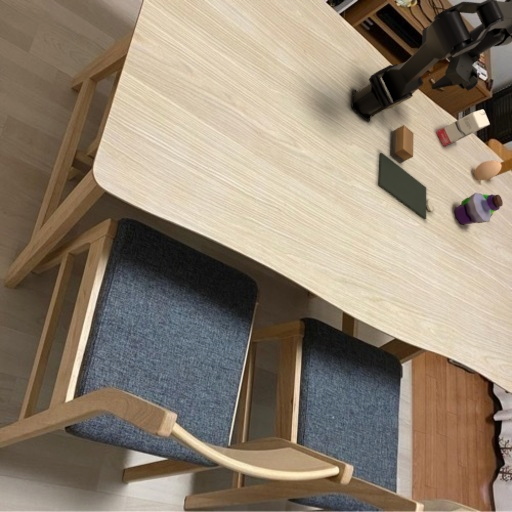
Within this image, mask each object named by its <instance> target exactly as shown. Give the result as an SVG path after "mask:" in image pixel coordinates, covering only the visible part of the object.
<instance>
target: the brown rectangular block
mask: <svg viewBox="0 0 512 512" xmlns="http://www.w3.org/2000/svg"><path fill="white" fill-rule="evenodd" d="M390 133H391V134H390V156H391V157H392V158H393V159H394V160H395V161H397V163H399V164H402V163H404V162H406V161H409V160H410V159H412V158H414V135H415V134H414V132H413V131H412V130H411V129H410V128H408V127H407V126H406V125H404V124H403V125H401V126H399V127H398V128H396V129H394V130H392V131H391V132H390Z"/></svg>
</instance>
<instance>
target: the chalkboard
mask: <svg viewBox="0 0 512 512" xmlns="http://www.w3.org/2000/svg"><path fill="white" fill-rule="evenodd" d="M377 182H378V183H377V186H378V187H380V188H381V189H383V190H384V191H385V192H386V193H388V194H389V195H391V196H392V197H393V198H395V199H396V200H397V201H398V202H400V203H401V204H403V205H404V206H405V207H407V208H408V209H409V210H411V211H412V212H414V213H415V214H416V215H418V216H419V217H420V218H421V219H423V220H426V219H427V205H426V201H427V187H426V186H425V185H424V184H422V182H420V181H419V180H418V179H416V178H415V177H414V176H412V174H409V172H407V171H406V170H405V169H403V168H402V167H400V166H399V164H397V163H396V162H395V161H393V160H392V159H391V158H389V157H388V156H387V155H385V154H384V153H383V152H380V153H379V163H378V180H377Z"/></svg>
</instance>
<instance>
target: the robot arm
mask: <svg viewBox="0 0 512 512" xmlns="http://www.w3.org/2000/svg"><path fill="white" fill-rule="evenodd" d="M461 13H462V14H473V15H475V14H476V16H477V17H478V19H479V21H480V24H479V25H478V26H476V27H474V28H473V29H471V30H469V29H468V27H467V24H466V22H465V20H464V19H463V16H462V15H461ZM421 37H422V38H421V41H422V42H421V44H420V47H419V48H418V49H417V50H416V51H415V52H414V53H413V54H412V55H411V56H410V57H409V58H408V59H407V60H406V61H404V62H402V63H400V64H398V63H396V64H389V65H388V66H386V67H384V68H381V69H380V70H378V71H376V72H374V73H373V74H371V76H370V77H368V81H369V83H368V84H367V85H365V86H363V88H361V89H360V90H357V89H353V90H352V95H351V96H352V97H351V110H352V111H354V112H355V113H356V114H358V115H359V116H360V117H361V118H362V119H364V120H365V121H366V122H367V123H370V122H371V118H372V117H373V118H374V116H376V115H378V114H379V113H381V112H382V111H387V110H390V109H393V108H395V107H397V106H399V105H400V104H402V103H404V102H406V101H408V100H410V99H411V98H412V97H413V96H414V95H413V94H414V93H415V92H416V91H418V89H420V88H421V87H423V84H424V80H423V79H422V76H423V75H425V73H427V72H428V71H429V70H430V69H431V68H432V67H433V66H434V65H435V64H437V63H438V62H439V61H444V60H446V61H447V62H448V65H447V67H446V69H445V73H444V75H443V76H442V77H440V78H439V79H438V80H436V81H435V82H434V83H433V84H432V85H431V90H438V89H442V88H448V87H458V88H460V89H461V90H464V89H465V90H466V91H468V92H469V91H471V90H473V89H475V88H476V87H477V85H478V83H479V79H480V75H479V74H478V69H477V68H476V67H475V66H474V64H475V63H477V62H478V61H479V60H480V59H481V54H483V53H485V52H486V51H489V50H490V49H492V48H493V47H494V48H495V47H501V46H507V45H510V44H511V43H512V0H504V1H500V0H484V1H482V2H474V1H473V2H472V1H461V2H459V3H456V4H455V5H453V6H451V7H449V8H446V9H444V10H442V11H440V12H439V13H437V14H436V15H435V16H434V17H433V21H431V22H430V24H429V25H428V26H425V28H423V29H422V35H421Z"/></svg>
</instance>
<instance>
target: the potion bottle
mask: <svg viewBox="0 0 512 512" xmlns="http://www.w3.org/2000/svg"><path fill="white" fill-rule="evenodd" d="M483 195H484V194H482V193H478V192H474V193H473V194H472V195H470V196H468V197H466V198H464V199H462V201H461V203H460V204H459V205H458V206H455V207H454V209H453V214H454V217H455V220H456V222H458V224H459V225H461V226H465V225H471V224H483V223H489V222H490V221H491V218H492V216H491V211H490V210H492V211H495V212H496V211H498V210H500V208H501V207H502V206H503V205H504V203H503V199H502V196H501V195H500V194H493V193H491V194H488V195H489V196H487V200H486V199H485V198H484V197H483Z"/></svg>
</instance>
